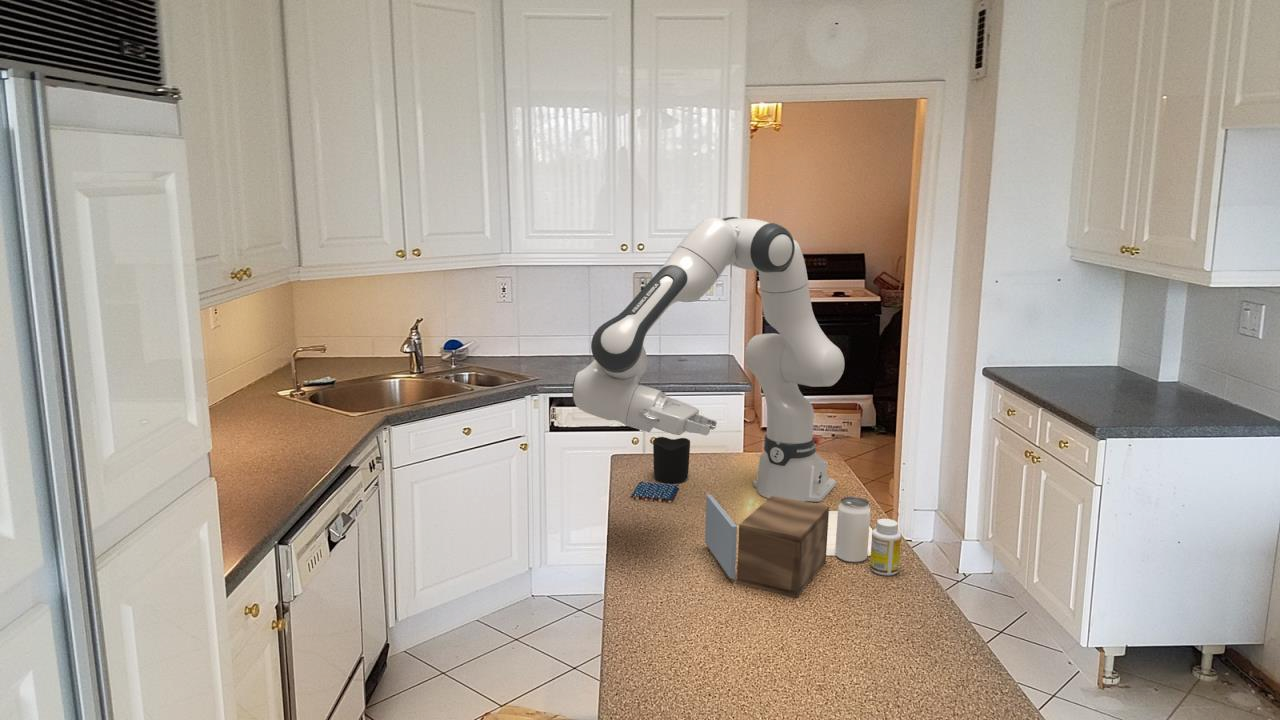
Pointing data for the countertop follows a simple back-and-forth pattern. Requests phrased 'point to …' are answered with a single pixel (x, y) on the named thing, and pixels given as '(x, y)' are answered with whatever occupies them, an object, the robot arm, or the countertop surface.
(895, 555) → the supplement bottle
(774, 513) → the crate
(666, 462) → the pen holder
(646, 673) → the countertop surface
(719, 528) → the flap
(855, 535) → the can
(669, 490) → the woven mat
